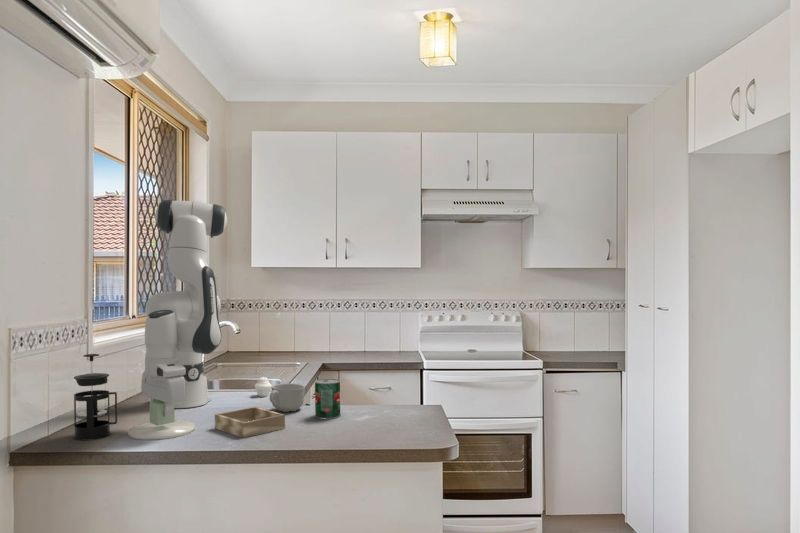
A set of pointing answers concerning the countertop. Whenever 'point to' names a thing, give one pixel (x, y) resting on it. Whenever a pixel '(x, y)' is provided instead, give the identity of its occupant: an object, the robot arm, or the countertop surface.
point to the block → (160, 413)
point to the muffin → (263, 387)
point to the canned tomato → (327, 398)
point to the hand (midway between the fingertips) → (162, 415)
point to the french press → (92, 406)
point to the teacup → (287, 396)
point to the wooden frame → (241, 427)
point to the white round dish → (161, 430)
